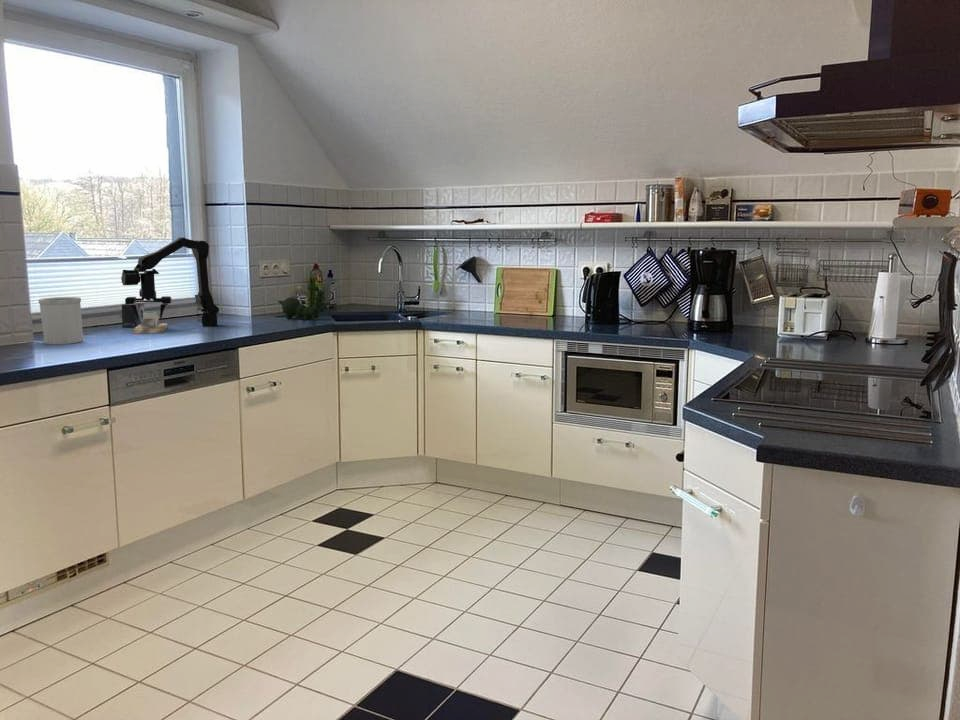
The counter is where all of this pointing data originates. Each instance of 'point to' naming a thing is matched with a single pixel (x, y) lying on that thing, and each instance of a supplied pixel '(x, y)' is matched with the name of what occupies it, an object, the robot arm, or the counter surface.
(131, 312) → the small box
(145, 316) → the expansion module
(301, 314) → the toy figurine
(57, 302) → the utensil holder
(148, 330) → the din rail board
